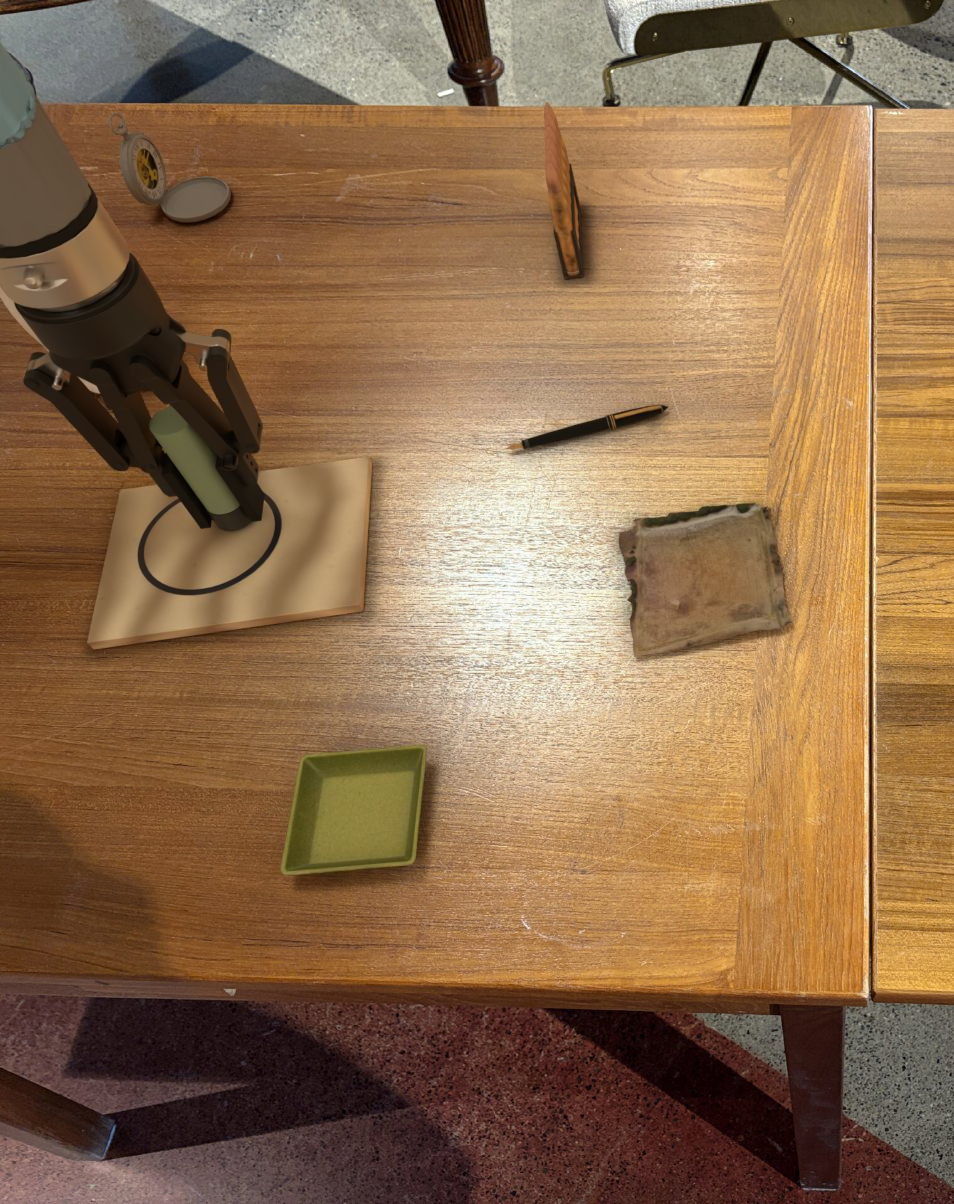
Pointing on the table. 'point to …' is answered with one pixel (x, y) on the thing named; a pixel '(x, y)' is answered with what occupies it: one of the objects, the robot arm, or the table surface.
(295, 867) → the olive green square tray
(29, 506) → the table surface
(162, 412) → the marker
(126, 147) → the pocket watch
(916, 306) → the table surface
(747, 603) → the parchment
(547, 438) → the fountain pen
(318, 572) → the sketch board
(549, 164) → the brown thin upright slab
